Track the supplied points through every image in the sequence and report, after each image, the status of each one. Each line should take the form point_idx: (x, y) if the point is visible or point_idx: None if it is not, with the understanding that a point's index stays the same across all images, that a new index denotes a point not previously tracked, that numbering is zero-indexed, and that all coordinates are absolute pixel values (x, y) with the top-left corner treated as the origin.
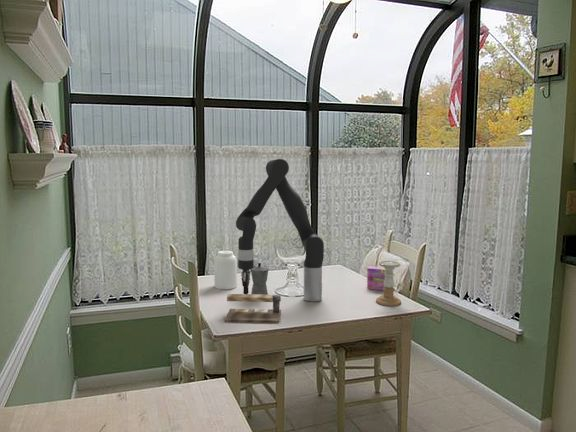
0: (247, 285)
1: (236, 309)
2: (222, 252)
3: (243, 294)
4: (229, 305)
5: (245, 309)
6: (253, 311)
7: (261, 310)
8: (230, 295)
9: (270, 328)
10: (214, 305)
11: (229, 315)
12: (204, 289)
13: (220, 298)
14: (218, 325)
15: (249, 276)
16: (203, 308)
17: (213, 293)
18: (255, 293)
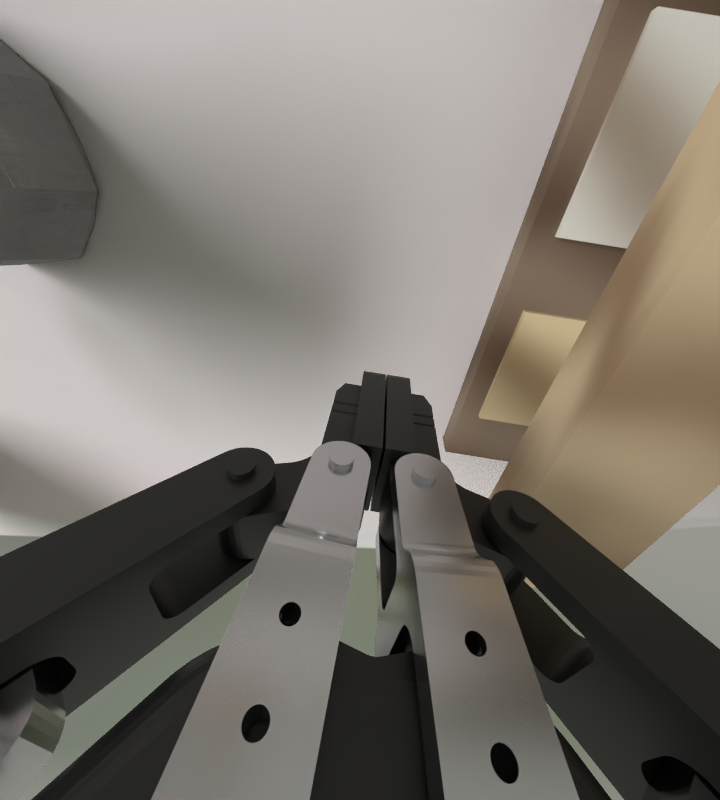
0: (561, 522)
1: (499, 416)
2: None
3: (574, 465)
4: (312, 436)
5: (527, 344)
6: (609, 260)
7: (652, 143)
8: None
9: None
10: None
11: None
12: (36, 532)
13: (169, 476)
14: (714, 504)
15: (320, 747)
16: (365, 546)
17: (85, 502)
18: (28, 218)
